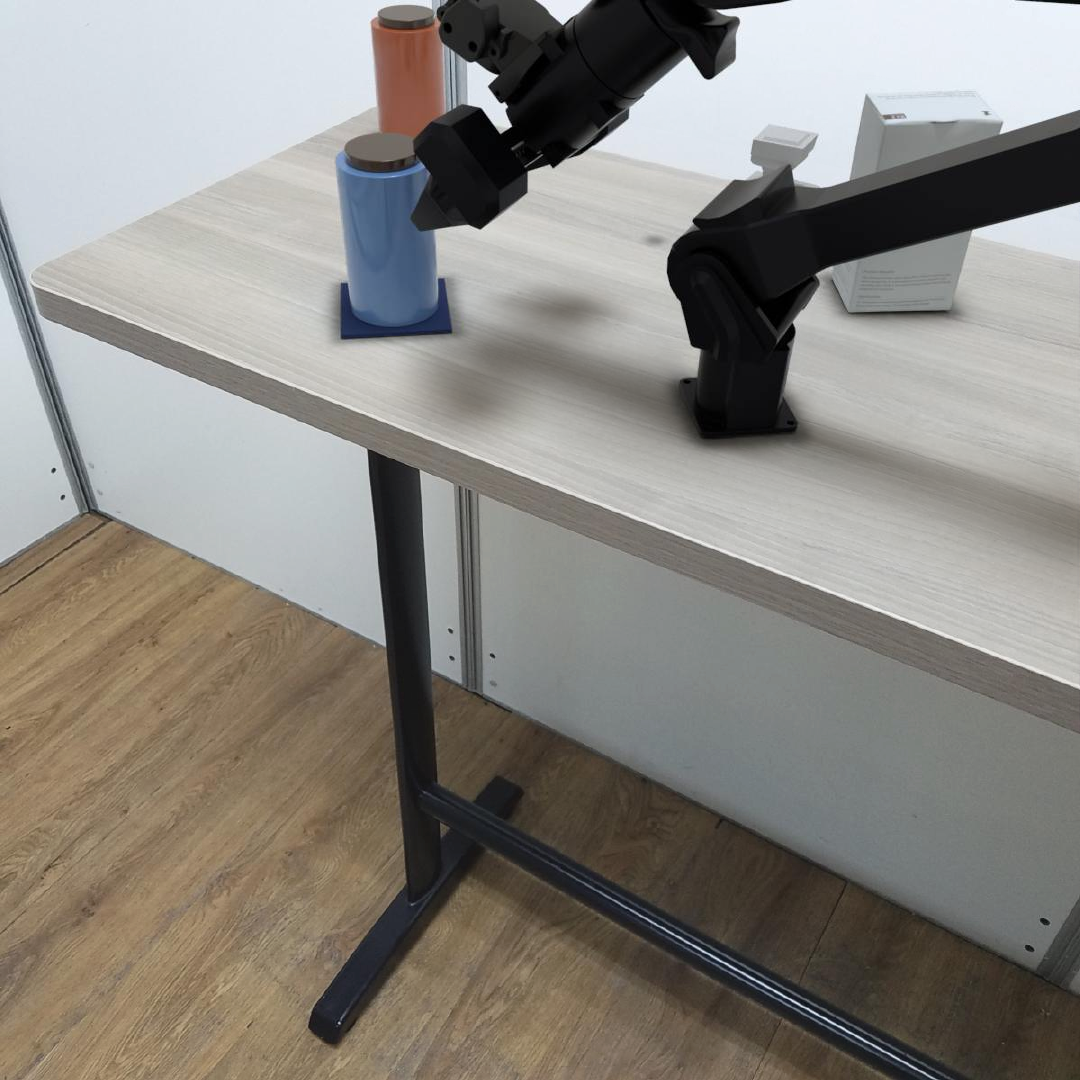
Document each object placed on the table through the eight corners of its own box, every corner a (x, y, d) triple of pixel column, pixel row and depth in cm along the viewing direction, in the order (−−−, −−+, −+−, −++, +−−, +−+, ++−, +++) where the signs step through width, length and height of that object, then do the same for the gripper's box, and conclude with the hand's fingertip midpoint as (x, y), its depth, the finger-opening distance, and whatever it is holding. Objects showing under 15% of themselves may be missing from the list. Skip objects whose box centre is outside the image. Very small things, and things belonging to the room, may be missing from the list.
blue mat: (452, 332, 79) (451, 329, 79) (341, 338, 78) (340, 335, 78) (444, 281, 85) (444, 277, 85) (341, 286, 84) (340, 282, 84)
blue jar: (456, 310, 81) (450, 151, 73) (379, 336, 78) (364, 173, 70) (409, 276, 85) (398, 121, 77) (334, 300, 82) (315, 141, 74)
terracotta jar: (449, 155, 104) (444, 22, 96) (380, 157, 104) (370, 23, 96) (445, 130, 109) (439, 1, 101) (379, 132, 108) (369, 3, 101)
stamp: (751, 205, 97) (766, 109, 91) (822, 223, 94) (842, 125, 89) (709, 242, 91) (722, 142, 85) (783, 262, 88) (802, 160, 83)
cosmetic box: (927, 278, 87) (980, 87, 77) (952, 315, 82) (1011, 117, 72) (824, 278, 86) (864, 86, 77) (843, 316, 82) (887, 116, 72)
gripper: (597, -99, 67) (451, 59, 78) (434, -35, 54) (287, 143, 65) (702, 57, 69) (546, 188, 80) (569, 152, 56) (405, 293, 67)
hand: (453, 199), depth 73 cm, fingers open, 9 cm apart
